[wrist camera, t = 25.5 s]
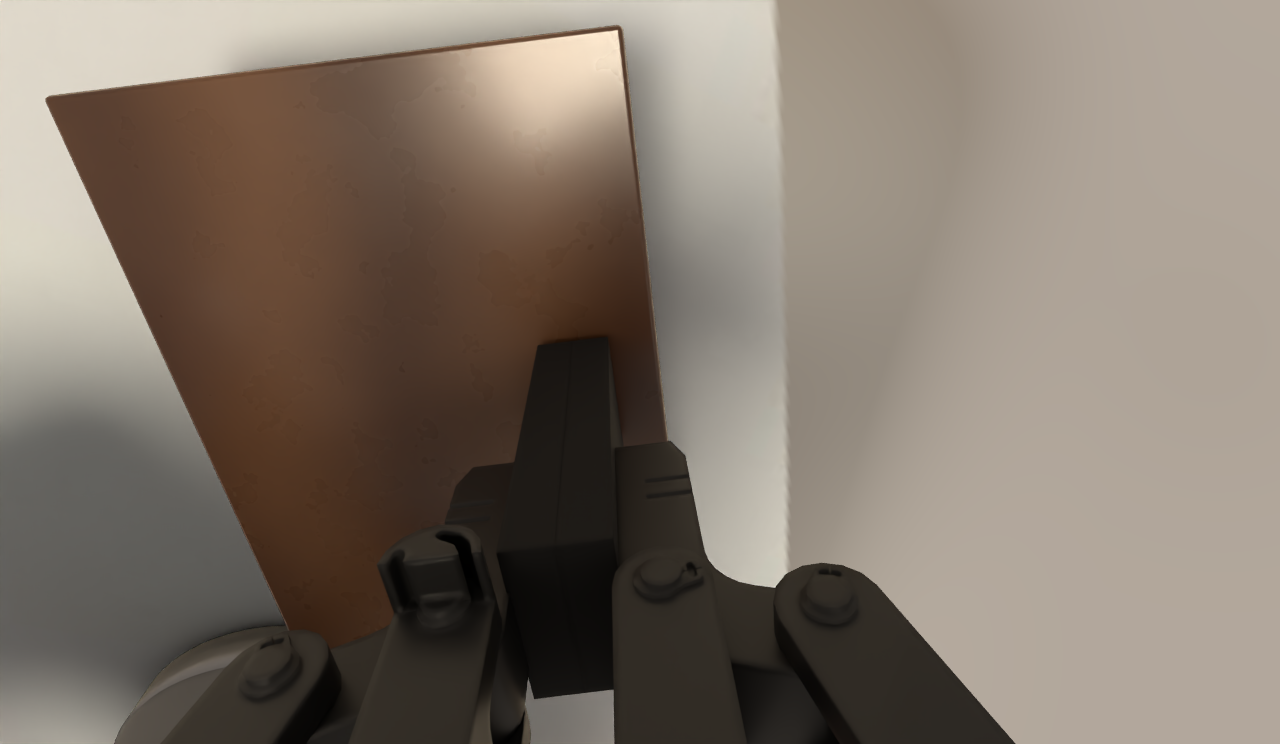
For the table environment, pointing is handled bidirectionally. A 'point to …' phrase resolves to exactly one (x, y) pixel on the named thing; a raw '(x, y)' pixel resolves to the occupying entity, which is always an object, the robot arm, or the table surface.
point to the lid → (374, 278)
